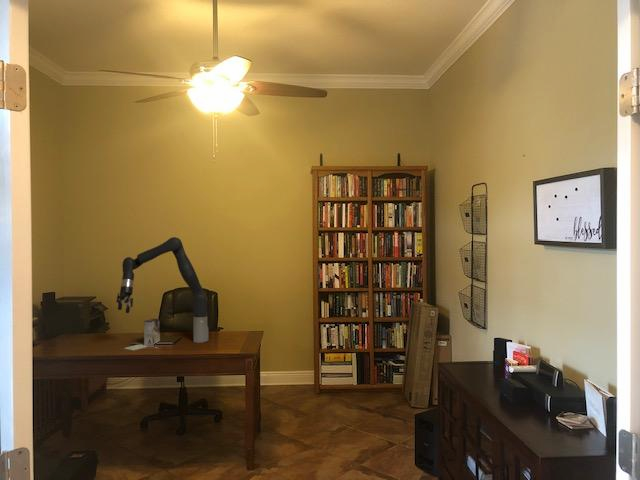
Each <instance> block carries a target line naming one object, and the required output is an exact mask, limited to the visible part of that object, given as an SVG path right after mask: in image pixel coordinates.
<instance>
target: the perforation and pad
mask: <svg viewBox="0 0 640 480" xmlns="http://www.w3.org/2000/svg"><path fill="white" fill-rule="evenodd" d="M149 347H151V345H144V344H135V345H131V346H127V347H124V350H128V351H137V350H141V349H144V348H149ZM154 348H156V349H158V346H157V347H156V346H155V347H154Z"/></svg>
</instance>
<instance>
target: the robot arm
mask: <svg viewBox="0 0 640 480" xmlns="http://www.w3.org/2000/svg"><path fill="white" fill-rule="evenodd" d="M169 252H171V253H173V255H174V257H175V260H176V263H177V268H178V270H179V273H180V275H181V277H182V279H183V281H184V282H185V283H186V285H187V286H188V288H189V289H190V291H191V294H192V296H193V299H192V312H193V313H192V315H193V343H197V344H199V343H200V344H201V343H205V342H208V341H209V326H208V301H209V300H208V299H209V298H208V294H206V292H205V290H204V289H203V287H202V285H201V283H200V280H199V277H198V275H197V273H196V271H195V268H194V266H193V265H192V262H191V260H190V259H189V258H188V255H187V254H186V250H185V249H184V246H183V242H182V240H181V239H180V238H179V237H177V236H175V237H174V236H172V237H170V238H168V239H167V240H166V241H164V242H163V243H161V244H159V245H157V246H155V247H152V248H150V249H147V250H144V251H143V252H141V253H138V254H137V255H136V258H132V257H130V256H127V257H125V258H124V259H123V261H122V265H121V266H122V279H121V283H120V288H119V289H120V290H119V292H118V293H117V295H116V303H117V304H118V306H117V310H118V311H122V308H123V304H124V305H125V314H129V313H130V310H131V309H130V308H133V304H134V298H133V297H131V296H132V295H133V292H134V291H133V289H134V281H135V280H134V279H135V273H134V270H137V269H138V268H139V267H141V266H142V265H144V264H146V263H148V262H150V261H151V260H154V259H156V258H157V257H160V256H162V255H163V254H167V253H169Z"/></svg>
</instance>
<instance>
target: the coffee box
mask: <svg viewBox="0 0 640 480" xmlns="http://www.w3.org/2000/svg"><path fill="white" fill-rule="evenodd" d="M160 321H161V320H160V318H150V319H147V320H144V321H143V326H144V327H143V332H144V333H143V335H144V339H143V341H144V343H143V345H147V346H155V345H156V344H155V343H157V342H159V341H160V342H161V335H160V334H161V330H160V329H161V327H160V325H161V324H160V323H161V322H160ZM160 342H159V343H160ZM154 344H155V345H154ZM157 344H158V343H157Z"/></svg>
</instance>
